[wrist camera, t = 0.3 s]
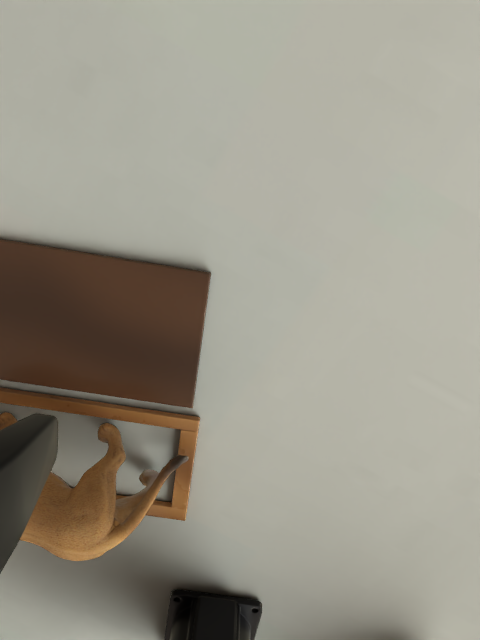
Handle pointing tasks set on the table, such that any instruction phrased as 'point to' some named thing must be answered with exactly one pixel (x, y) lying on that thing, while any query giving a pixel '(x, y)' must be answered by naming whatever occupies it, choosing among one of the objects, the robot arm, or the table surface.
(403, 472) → the table surface
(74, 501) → the lion figurine
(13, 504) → the robot arm
